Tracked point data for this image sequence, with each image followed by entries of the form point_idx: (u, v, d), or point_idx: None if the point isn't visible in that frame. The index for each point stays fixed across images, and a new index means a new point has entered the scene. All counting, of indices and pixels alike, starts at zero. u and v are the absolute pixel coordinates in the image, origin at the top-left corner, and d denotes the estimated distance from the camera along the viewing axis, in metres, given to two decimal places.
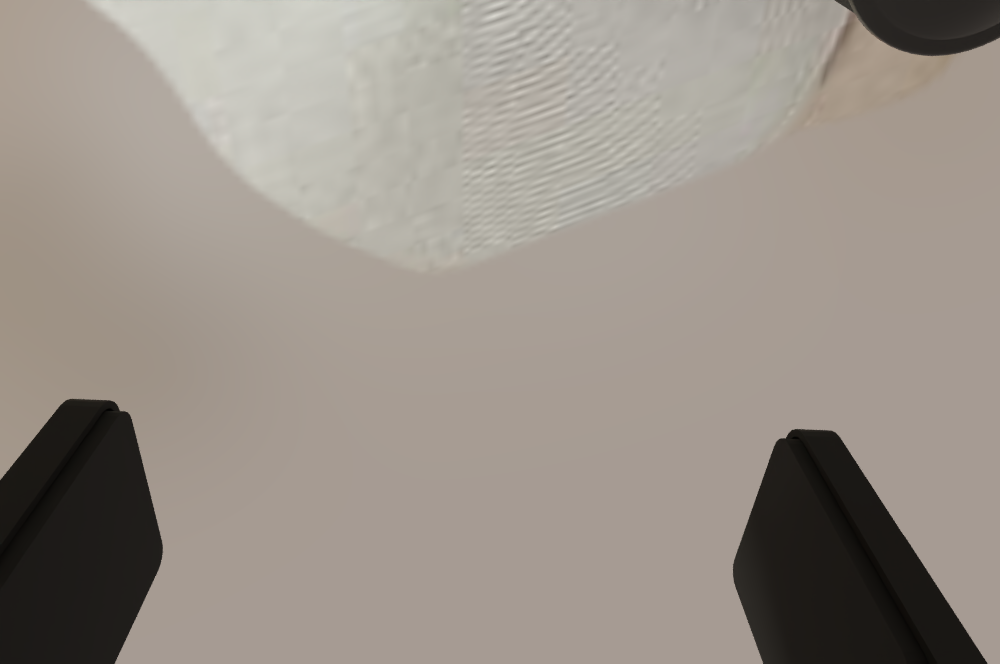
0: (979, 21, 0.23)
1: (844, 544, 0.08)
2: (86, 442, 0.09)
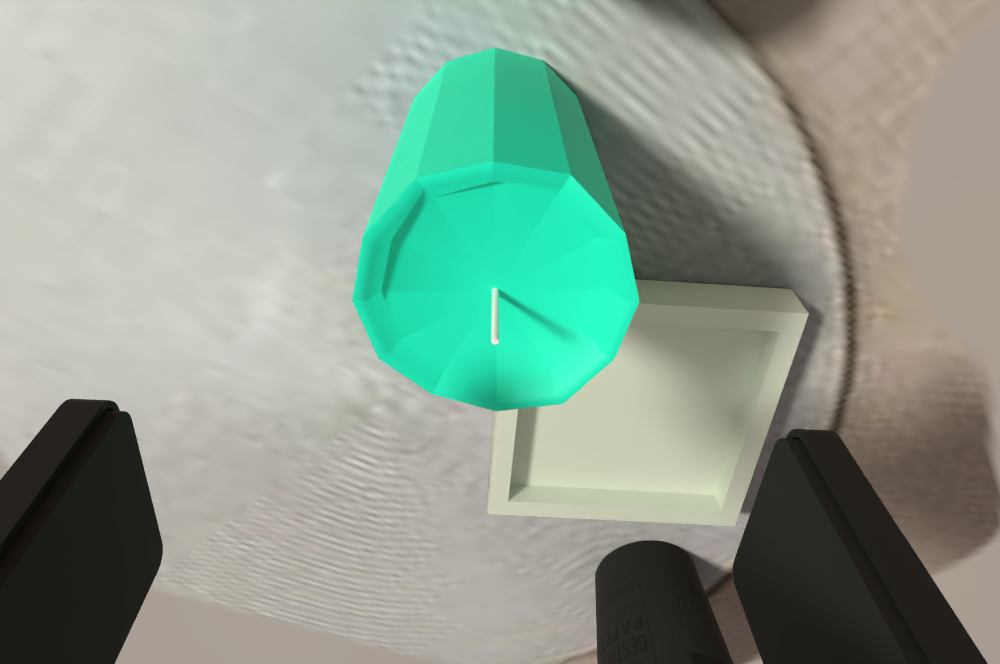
0: None
1: (844, 544, 0.08)
2: (86, 442, 0.09)
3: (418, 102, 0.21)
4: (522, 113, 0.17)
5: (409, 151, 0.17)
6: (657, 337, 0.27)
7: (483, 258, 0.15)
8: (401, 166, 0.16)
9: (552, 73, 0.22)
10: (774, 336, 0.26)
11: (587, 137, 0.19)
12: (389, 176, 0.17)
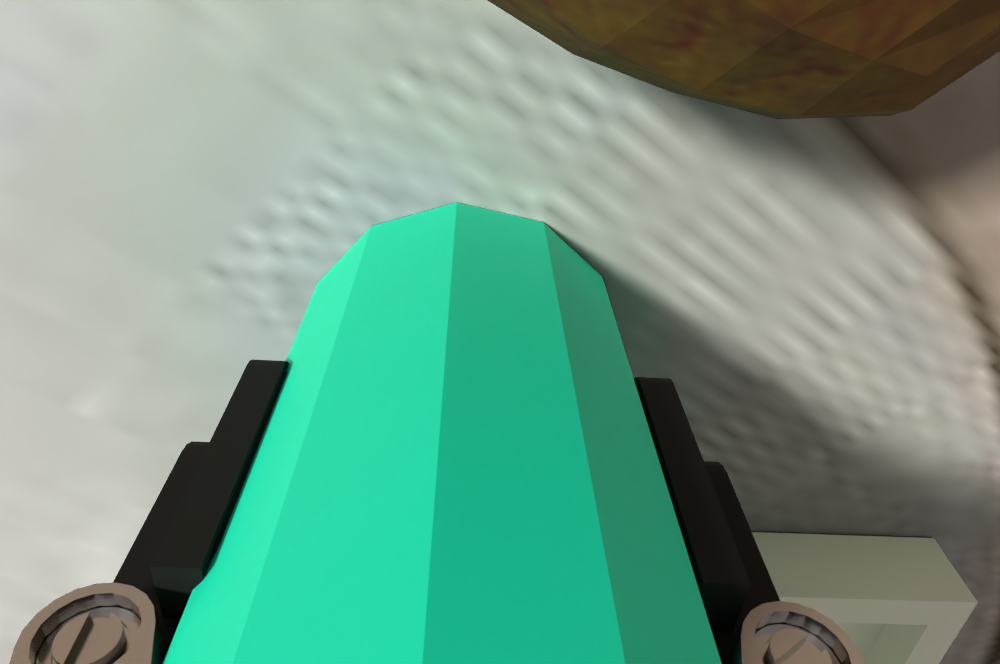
0: None
1: None
2: (277, 396, 0.10)
3: (313, 317, 0.12)
4: (507, 480, 0.07)
5: (229, 581, 0.07)
6: None
7: None
8: (195, 653, 0.06)
9: (560, 250, 0.12)
10: (914, 625, 0.16)
11: (643, 442, 0.09)
12: (177, 650, 0.07)
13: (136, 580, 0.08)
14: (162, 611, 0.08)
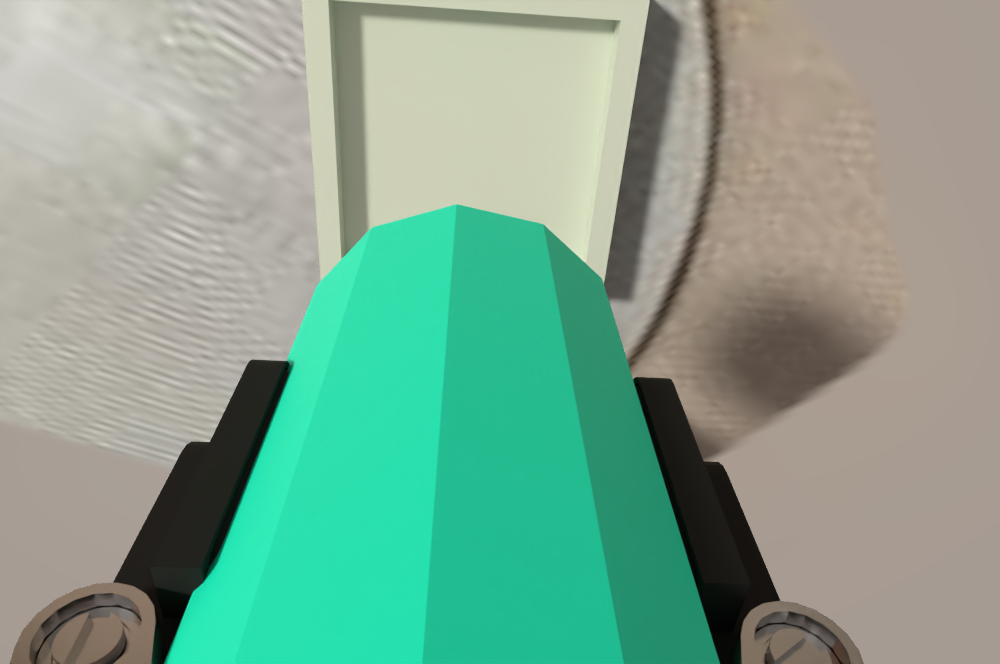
0: None
1: None
2: (278, 396, 0.10)
3: (313, 318, 0.12)
4: (506, 482, 0.07)
5: (229, 583, 0.07)
6: (489, 45, 0.24)
7: None
8: (196, 655, 0.06)
9: (560, 251, 0.12)
10: (617, 31, 0.23)
11: (643, 444, 0.09)
12: (177, 652, 0.07)
13: (136, 580, 0.08)
14: (162, 611, 0.08)
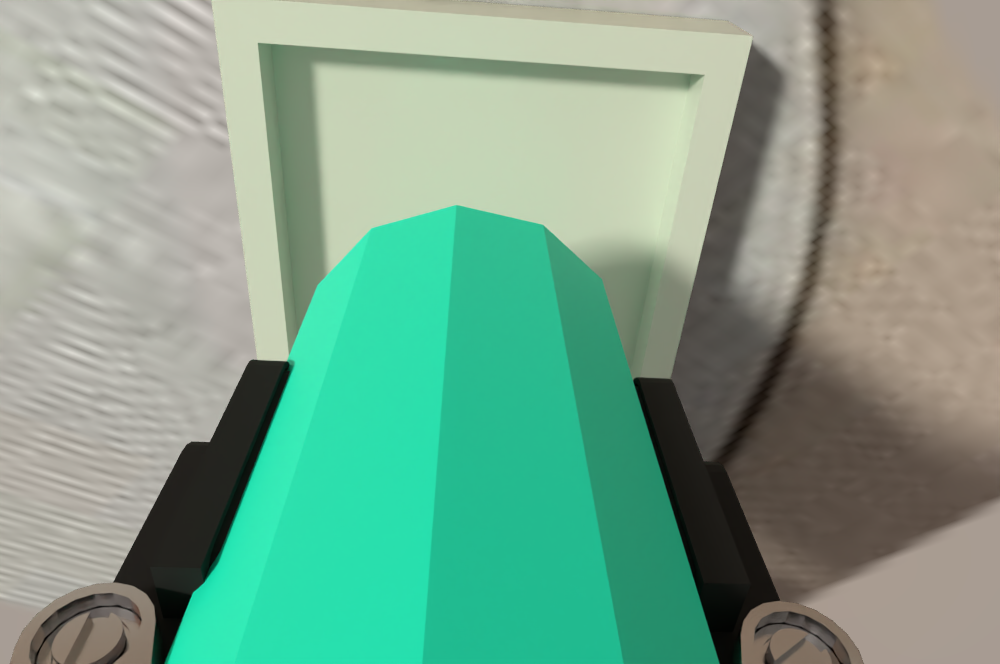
0: None
1: None
2: (277, 396, 0.10)
3: (313, 319, 0.12)
4: (506, 483, 0.07)
5: (229, 584, 0.07)
6: (504, 105, 0.16)
7: None
8: (196, 656, 0.06)
9: (560, 252, 0.12)
10: (697, 89, 0.15)
11: (643, 445, 0.09)
12: (177, 653, 0.07)
13: (136, 580, 0.08)
14: (162, 611, 0.08)
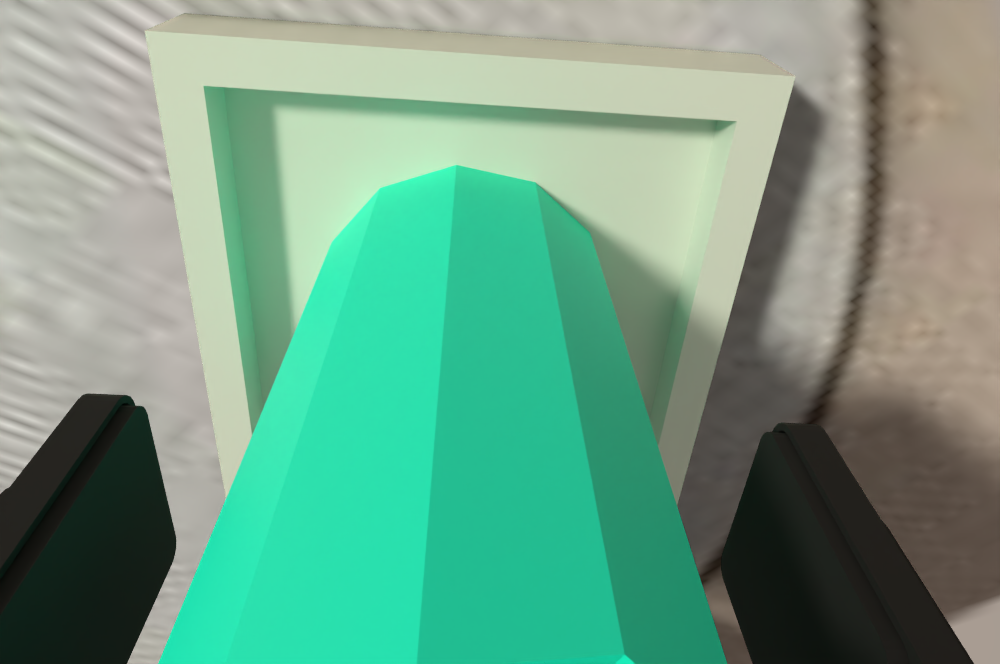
0: None
1: (827, 535, 0.09)
2: (104, 436, 0.09)
3: (329, 266, 0.13)
4: (499, 370, 0.08)
5: (269, 456, 0.08)
6: (499, 154, 0.14)
7: None
8: (244, 508, 0.08)
9: (550, 205, 0.14)
10: (726, 137, 0.13)
11: (621, 359, 0.10)
12: (227, 513, 0.08)
13: None
14: None
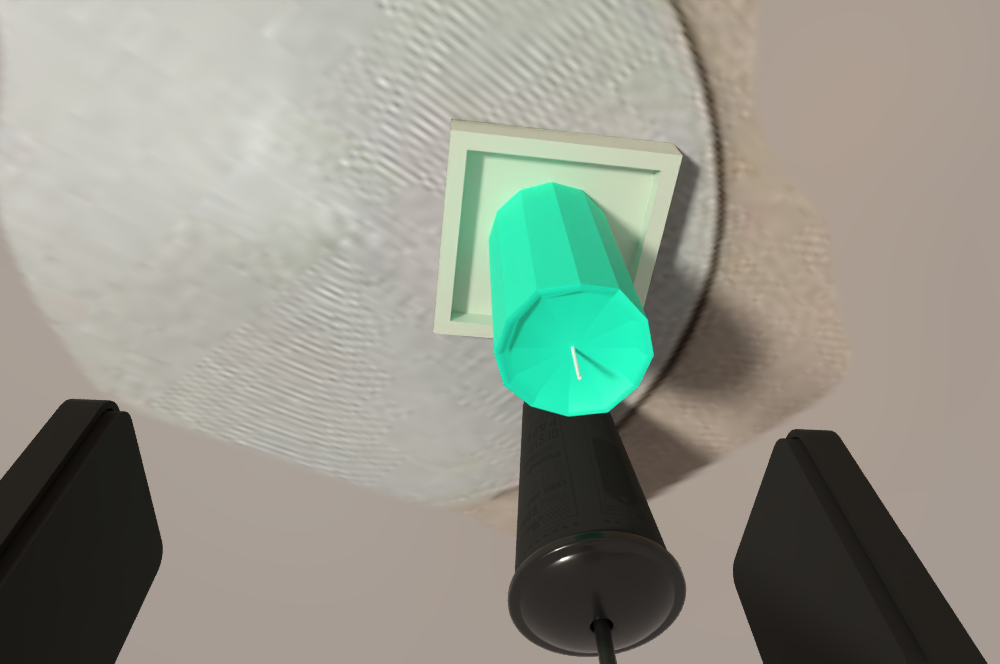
0: (561, 647, 0.32)
1: (844, 544, 0.08)
2: (86, 442, 0.09)
3: (505, 219, 0.34)
4: (584, 243, 0.29)
5: (518, 264, 0.29)
6: (569, 178, 0.34)
7: (568, 330, 0.27)
8: (516, 275, 0.28)
9: (589, 199, 0.34)
10: (658, 176, 0.34)
11: (617, 250, 0.31)
12: (507, 279, 0.29)
13: None
14: None
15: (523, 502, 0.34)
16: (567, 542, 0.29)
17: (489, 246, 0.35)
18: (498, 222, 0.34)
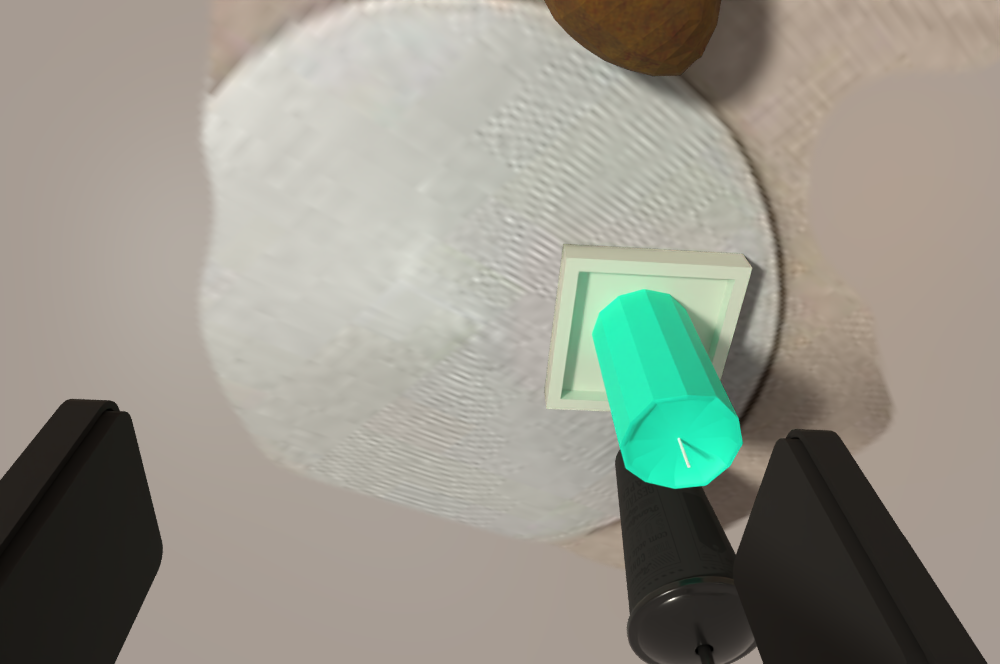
0: None
1: (844, 544, 0.08)
2: (86, 442, 0.09)
3: (609, 322, 0.42)
4: (682, 353, 0.37)
5: (631, 371, 0.37)
6: (658, 285, 0.43)
7: (675, 426, 0.35)
8: (631, 381, 0.37)
9: (675, 302, 0.43)
10: (731, 283, 0.42)
11: (704, 351, 0.39)
12: (623, 384, 0.37)
13: None
14: None
15: (630, 548, 0.43)
16: (676, 586, 0.38)
17: (594, 341, 0.43)
18: (603, 324, 0.42)
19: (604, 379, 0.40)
